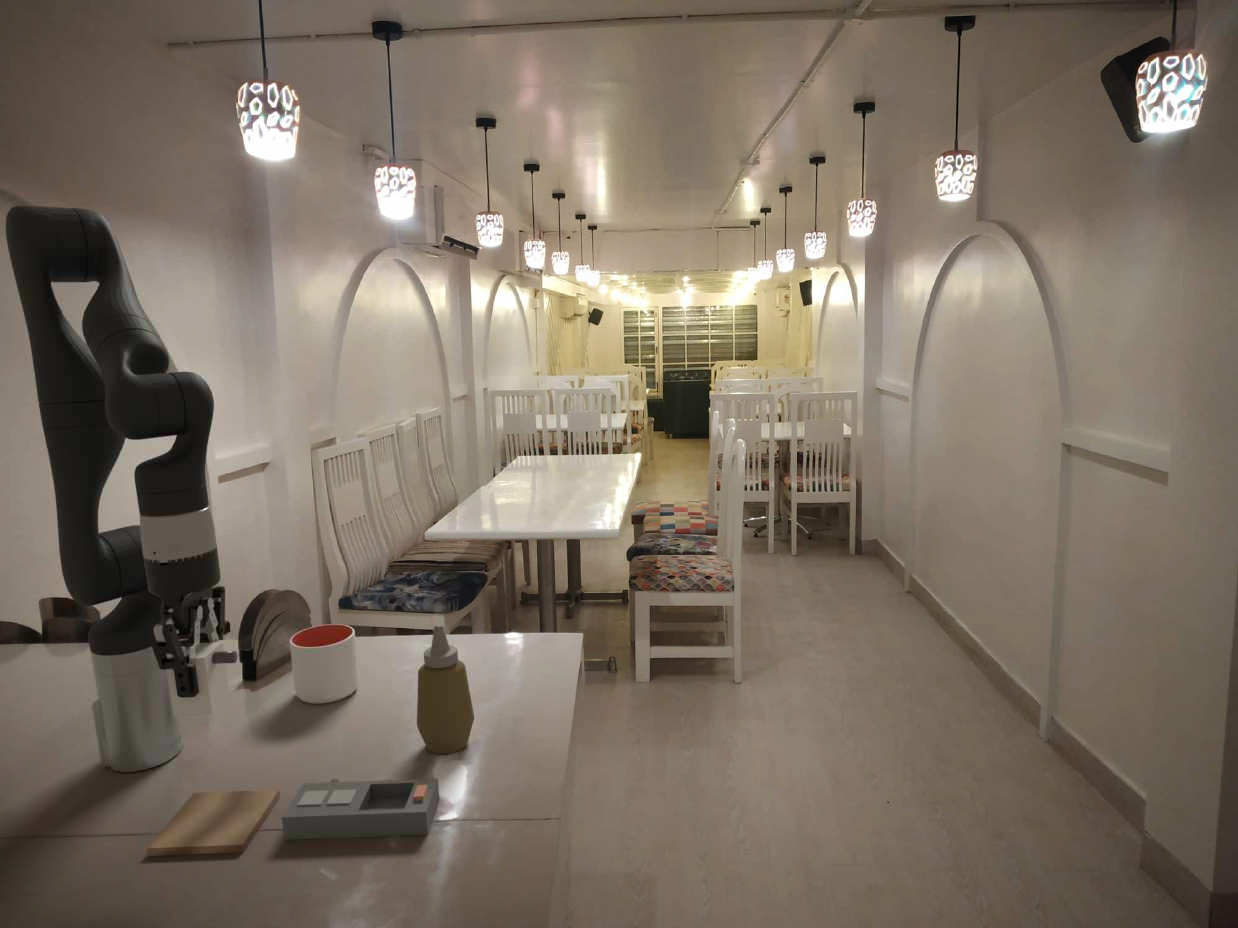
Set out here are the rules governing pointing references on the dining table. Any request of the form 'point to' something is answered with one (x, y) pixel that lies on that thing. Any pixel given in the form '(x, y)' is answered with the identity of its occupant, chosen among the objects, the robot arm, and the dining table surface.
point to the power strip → (361, 809)
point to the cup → (324, 663)
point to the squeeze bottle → (443, 698)
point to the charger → (204, 680)
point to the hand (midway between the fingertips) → (199, 685)
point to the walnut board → (215, 823)
